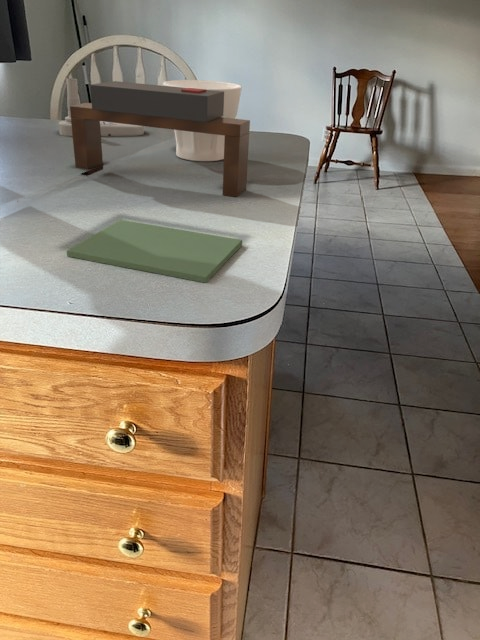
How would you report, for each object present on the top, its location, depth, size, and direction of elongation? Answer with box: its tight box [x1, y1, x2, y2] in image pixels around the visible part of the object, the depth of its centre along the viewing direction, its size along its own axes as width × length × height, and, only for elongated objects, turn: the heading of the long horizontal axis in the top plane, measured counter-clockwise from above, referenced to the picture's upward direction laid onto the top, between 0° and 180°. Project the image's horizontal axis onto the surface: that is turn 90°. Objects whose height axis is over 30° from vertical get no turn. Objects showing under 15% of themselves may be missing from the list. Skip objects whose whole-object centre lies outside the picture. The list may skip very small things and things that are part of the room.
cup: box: [162, 79, 243, 163], centre depth 88 cm, size 12×12×11 cm
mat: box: [66, 219, 243, 283], centre depth 53 cm, size 14×10×1 cm
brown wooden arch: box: [70, 102, 251, 198], centre depth 73 cm, size 24×4×9 cm, turn 72°
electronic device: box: [58, 77, 145, 137], centre depth 97 cm, size 5×10×15 cm
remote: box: [89, 80, 224, 122], centre depth 70 cm, size 16×6×3 cm, turn 72°
